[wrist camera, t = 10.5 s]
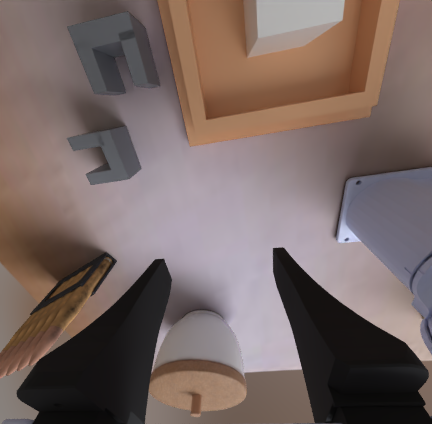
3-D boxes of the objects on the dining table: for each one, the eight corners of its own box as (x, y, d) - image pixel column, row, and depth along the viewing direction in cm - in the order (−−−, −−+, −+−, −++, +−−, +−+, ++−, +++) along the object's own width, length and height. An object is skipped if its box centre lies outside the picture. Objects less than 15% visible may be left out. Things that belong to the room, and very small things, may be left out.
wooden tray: (427, -232, 9) (509, -365, 7) (362, 115, 16) (388, 118, 14) (131, -133, 11) (102, -208, 8) (191, 144, 18) (186, 151, 15)
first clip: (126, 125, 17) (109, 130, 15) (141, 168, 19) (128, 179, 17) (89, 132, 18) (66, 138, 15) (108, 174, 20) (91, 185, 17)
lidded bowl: (171, 341, 36) (152, 429, 26) (160, 298, 30) (130, 392, 20) (239, 343, 35) (245, 433, 26) (243, 299, 29) (253, 396, 20)
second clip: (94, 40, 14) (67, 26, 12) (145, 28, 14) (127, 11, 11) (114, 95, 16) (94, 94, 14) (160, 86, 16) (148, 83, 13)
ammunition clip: (69, 288, 29) (-16, 393, 19) (58, 281, 28) (-37, 386, 18) (117, 260, 26) (46, 368, 15) (106, 251, 25) (24, 358, 15)
